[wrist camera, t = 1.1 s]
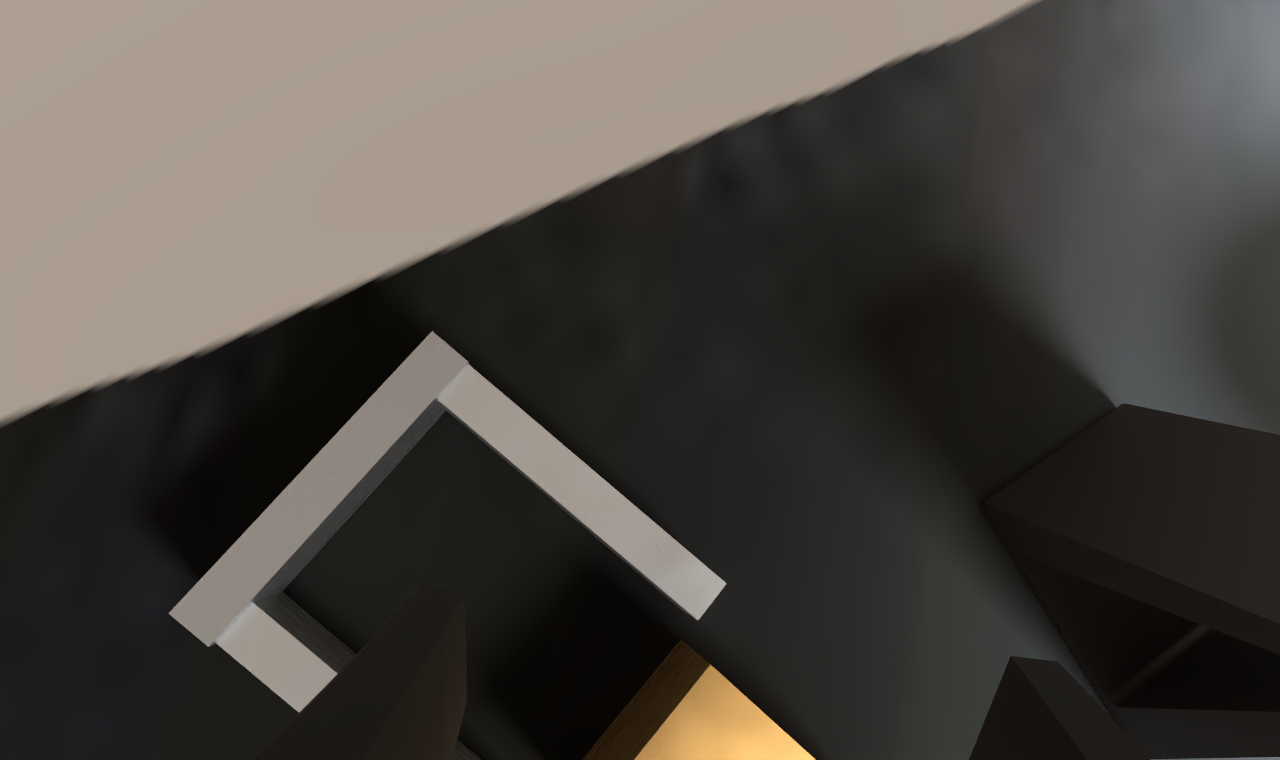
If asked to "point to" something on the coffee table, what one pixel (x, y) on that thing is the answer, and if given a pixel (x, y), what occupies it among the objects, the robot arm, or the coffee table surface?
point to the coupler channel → (345, 477)
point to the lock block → (693, 719)
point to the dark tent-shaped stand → (1161, 575)
